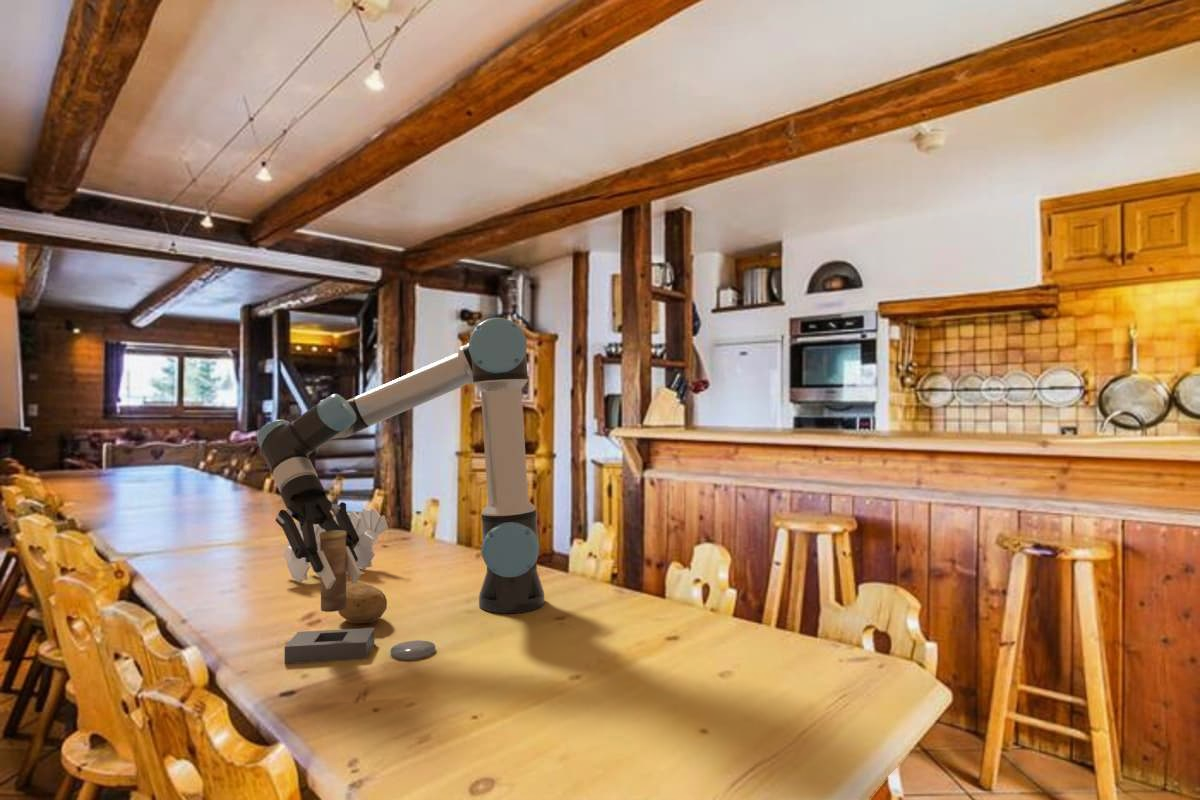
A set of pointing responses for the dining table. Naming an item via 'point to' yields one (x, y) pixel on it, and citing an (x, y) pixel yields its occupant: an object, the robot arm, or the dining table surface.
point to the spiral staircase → (367, 531)
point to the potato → (363, 603)
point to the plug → (334, 570)
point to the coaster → (412, 650)
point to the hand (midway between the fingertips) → (344, 581)
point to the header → (329, 645)
